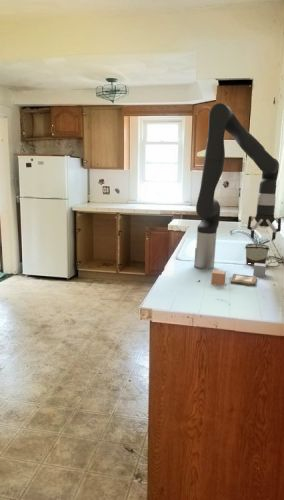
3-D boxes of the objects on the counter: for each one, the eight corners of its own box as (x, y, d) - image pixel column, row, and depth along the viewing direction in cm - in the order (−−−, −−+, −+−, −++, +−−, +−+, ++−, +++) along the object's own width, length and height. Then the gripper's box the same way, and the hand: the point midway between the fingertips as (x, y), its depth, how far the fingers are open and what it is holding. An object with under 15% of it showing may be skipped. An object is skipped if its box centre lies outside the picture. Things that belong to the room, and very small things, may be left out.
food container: (265, 262, 197) (267, 243, 195) (268, 265, 191) (270, 246, 189) (241, 261, 198) (243, 242, 196) (243, 264, 192) (245, 245, 190)
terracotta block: (211, 284, 157) (212, 272, 156) (212, 281, 162) (213, 269, 161) (223, 285, 155) (224, 274, 154) (224, 282, 160) (225, 271, 159)
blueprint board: (230, 283, 159) (230, 280, 159) (233, 275, 170) (233, 273, 170) (255, 286, 156) (255, 283, 155) (256, 278, 167) (256, 276, 167)
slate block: (253, 275, 171) (254, 265, 170) (253, 273, 176) (254, 262, 175) (264, 277, 170) (265, 266, 169) (264, 274, 175) (265, 263, 174)
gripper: (249, 203, 165) (245, 239, 168) (283, 205, 160) (279, 242, 164) (250, 202, 172) (247, 237, 175) (283, 204, 167) (279, 239, 171)
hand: (262, 239), depth 169 cm, fingers open, 8 cm apart
